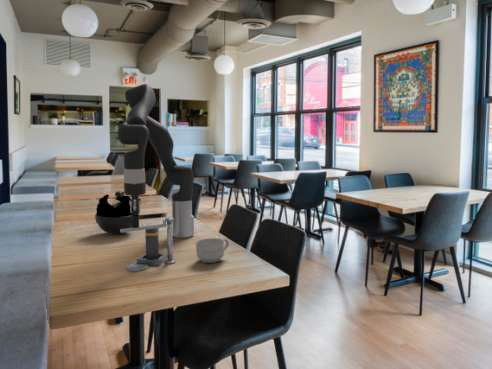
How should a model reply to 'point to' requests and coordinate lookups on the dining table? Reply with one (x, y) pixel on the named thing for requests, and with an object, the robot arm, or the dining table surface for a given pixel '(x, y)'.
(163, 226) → the gray square bar
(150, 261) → the socket
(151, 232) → the plug
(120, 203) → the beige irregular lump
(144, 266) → the mat
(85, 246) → the dining table surface
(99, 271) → the dining table surface
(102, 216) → the bowl of black rocks
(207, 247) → the teacup
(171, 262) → the post
